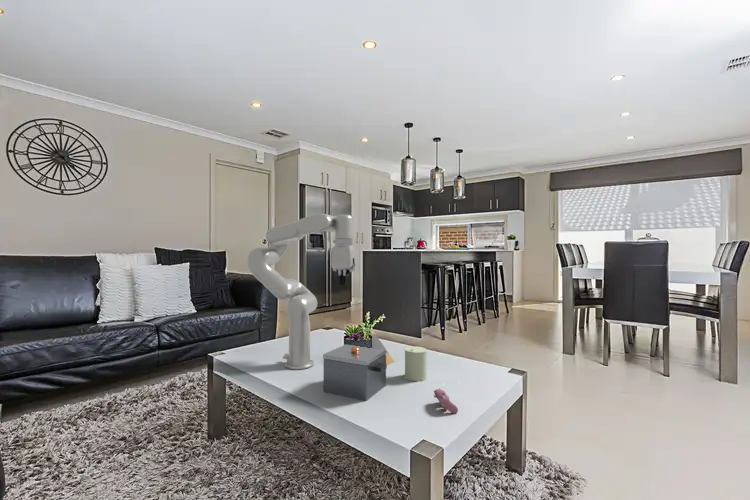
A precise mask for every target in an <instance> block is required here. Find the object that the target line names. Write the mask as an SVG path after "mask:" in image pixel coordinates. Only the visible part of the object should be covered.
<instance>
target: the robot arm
mask: <svg viewBox="0 0 750 500" xmlns="http://www.w3.org/2000/svg"><path fill="white" fill-rule="evenodd" d="M319 232H327V233H332V232H335V233H334V240H333V241H332V243H333V244H334V246H333V247H332V251H331V261H330V267H331V268H332V271H333V272H336V273H337V274H338V277H339V285H341V286H345V285H346V286H347V284H348V276H349V274H350V273H351V272H352V273H353V272H355V271H356V269H355V267H356V254H355V248H354V245H353V217H352V216H351V215H350V214H337V215H331V214H327V213H317V214H313V215H309V216H306V217H303V218H299V220H295V221H292V222H289V223H285V224H281V225H277V226H273V227H270V228H269V229H268V230H267V231H266V232H265V239H266V242H268V243H269V245H268V247H256V248H254V249H252V250H251V251H250V252H249V254H248V256H247V267H248V270H249V272H250V273H251V274H252V276H253V277H254V278H255V279H256V280H257V281H259V282H260V283H261V284H262V285H263V286H264V287H265V288H266V289H267V290H268V291H269V292H270V293H271V294H272V295H273V296H274V297H275V298H276V299H277V300H279V301H287V300H288V303H287V306H286V311H287V312H286V313H287V316H288V353H284V355H283V356H282V359H284V360H286V362H285V363H284V365H285V367H286V368H287V369H289V370H305V369H309V368H311V367H313V366H314V364H315V363H314V360H313V359H311V320H310V317H309V316H310V315H309V314H311V313H313V312H314V311H315V310H316V309H317V307H318V299H317V297H316V296H315V295H314V293H313V292H311V291H310V290H309V289H308V288H307V287H306V286H305V285H303V283H301V282H300V281H299V280H297V279H295V278H285V277H284V276H282V275H281V274H280V273H279V271H277V270H275V269H274V268H272V267H271V266H273V265H276V264H277V263H278V262H279V261H280V260H281V258H283V255H284V254H285V252H286V251H287V250H288V248H289V247H290V244H291V242H297V241H301V240H302V239H304V237H305V236H307V235H311V234H314V233H319Z"/></svg>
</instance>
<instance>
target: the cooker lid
mask: <svg viewBox="0 0 750 500" xmlns="http://www.w3.org/2000/svg"><path fill="white" fill-rule="evenodd" d="M386 350H387V349H386ZM386 350H381V349H374V348H367V347H360V346H359V345H354V344H347V343H346V344H343V345H341V346H339V347H337V348H334V349H332V350H330V351H328V352H325V353H324V354H322V355H323V356H322V357H323V360H324V359H329V360H335V361H341V362H347V363H353V364H359V365H364V366H367V365H368V364H370V363H372V362H373V361H375V360H377V359H378V358H380V357H382V356H383V355H385V354H386Z"/></svg>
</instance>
